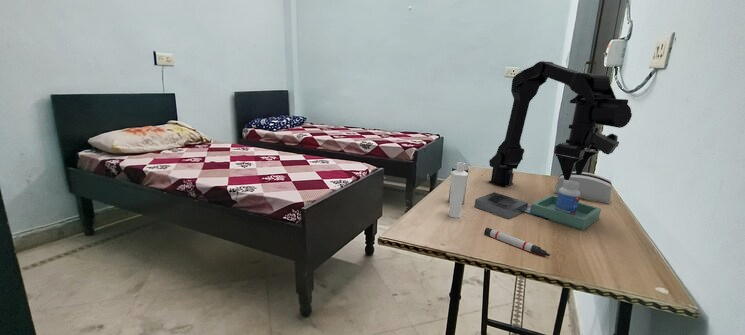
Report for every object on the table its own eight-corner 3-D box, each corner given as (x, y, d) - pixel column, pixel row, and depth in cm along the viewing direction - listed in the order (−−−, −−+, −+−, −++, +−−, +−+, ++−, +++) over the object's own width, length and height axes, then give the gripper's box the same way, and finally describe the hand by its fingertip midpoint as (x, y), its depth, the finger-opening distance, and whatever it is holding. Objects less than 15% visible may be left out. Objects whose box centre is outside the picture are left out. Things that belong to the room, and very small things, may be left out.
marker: (483, 235, 85) (484, 228, 85) (487, 233, 87) (488, 226, 86) (548, 261, 75) (549, 253, 74) (551, 258, 76) (553, 250, 76)
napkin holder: (609, 199, 117) (616, 175, 112) (608, 207, 114) (616, 183, 109) (554, 189, 125) (559, 165, 120) (552, 196, 122) (557, 173, 117)
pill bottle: (574, 219, 97) (582, 186, 94) (553, 214, 99) (560, 182, 97) (575, 213, 101) (582, 181, 99) (555, 208, 104) (561, 178, 101)
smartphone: (509, 198, 112) (558, 213, 101) (509, 200, 112) (558, 215, 102) (498, 203, 107) (548, 219, 96) (498, 205, 107) (548, 221, 96)
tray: (529, 213, 101) (531, 203, 100) (549, 203, 110) (551, 194, 109) (582, 230, 91) (584, 220, 90) (598, 218, 100) (601, 208, 99)
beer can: (446, 203, 105) (451, 165, 102) (449, 198, 109) (454, 162, 106) (462, 206, 103) (467, 167, 100) (465, 201, 108) (469, 164, 105)
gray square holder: (474, 206, 103) (475, 199, 103) (493, 199, 111) (494, 192, 110) (509, 219, 96) (510, 210, 95) (526, 210, 103) (528, 202, 102)
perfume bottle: (453, 219, 93) (460, 166, 89) (443, 213, 97) (449, 162, 93) (466, 217, 95) (474, 164, 91) (456, 211, 99) (462, 160, 95)
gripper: (608, 128, 81) (594, 191, 85) (629, 124, 94) (615, 179, 98) (559, 122, 89) (547, 179, 93) (583, 119, 101) (573, 170, 106)
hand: (572, 177), depth 97 cm, fingers open, 9 cm apart
